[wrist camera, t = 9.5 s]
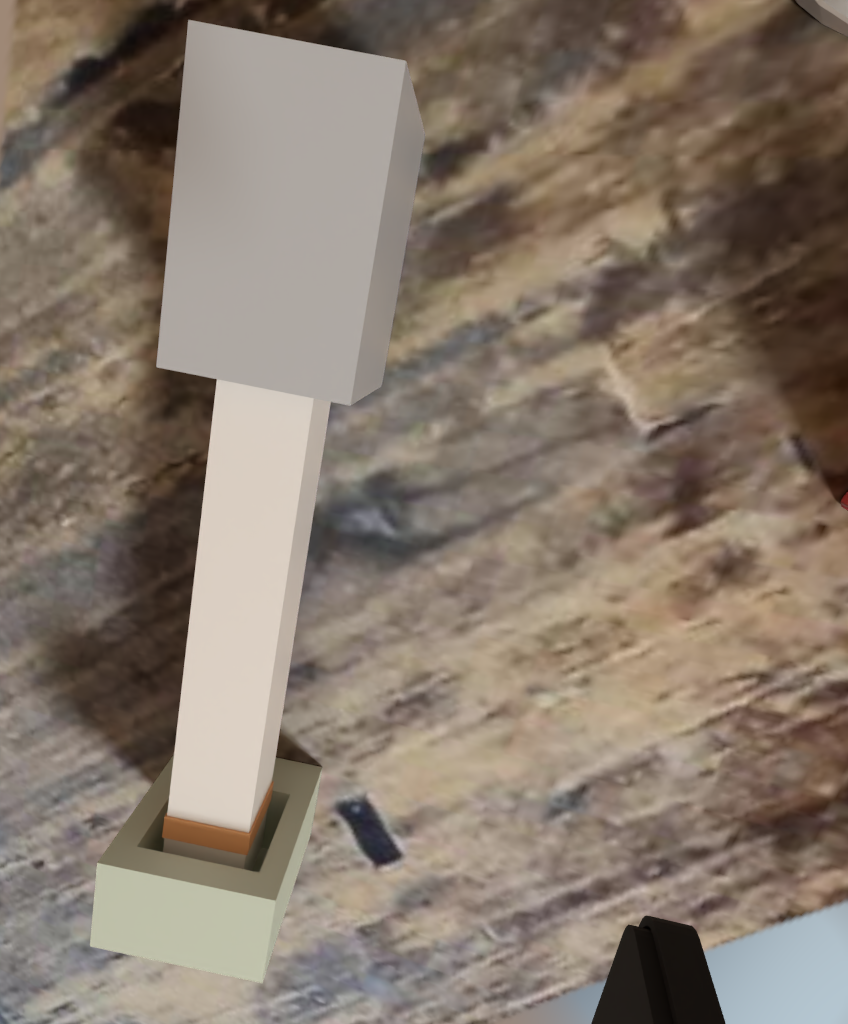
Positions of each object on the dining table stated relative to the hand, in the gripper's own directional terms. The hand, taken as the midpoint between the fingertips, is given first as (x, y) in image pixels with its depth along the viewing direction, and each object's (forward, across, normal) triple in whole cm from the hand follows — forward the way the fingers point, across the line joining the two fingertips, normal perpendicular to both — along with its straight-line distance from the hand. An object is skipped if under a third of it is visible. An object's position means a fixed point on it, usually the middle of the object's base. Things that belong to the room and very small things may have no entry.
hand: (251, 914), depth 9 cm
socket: (+23, +6, +18) cm, 30 cm away
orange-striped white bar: (+20, +6, +6) cm, 22 cm away
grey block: (+24, +6, -8) cm, 26 cm away
